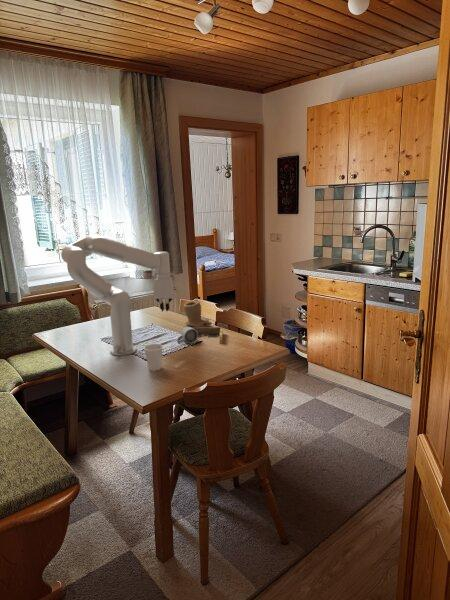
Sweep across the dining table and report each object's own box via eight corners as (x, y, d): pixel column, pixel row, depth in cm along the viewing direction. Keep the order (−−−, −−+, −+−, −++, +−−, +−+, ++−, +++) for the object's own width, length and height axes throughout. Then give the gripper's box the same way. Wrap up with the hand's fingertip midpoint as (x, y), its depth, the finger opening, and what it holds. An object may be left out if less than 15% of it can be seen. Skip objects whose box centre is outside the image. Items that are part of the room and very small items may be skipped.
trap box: (221, 343, 213) (221, 336, 212) (183, 344, 213) (183, 337, 212) (222, 334, 229) (222, 327, 228) (187, 334, 229) (186, 327, 228)
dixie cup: (167, 368, 183) (166, 346, 181) (151, 373, 178) (150, 351, 175) (157, 363, 189) (156, 342, 187) (141, 367, 184) (140, 346, 181)
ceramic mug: (193, 337, 224) (192, 324, 222) (198, 342, 216) (197, 328, 215) (174, 341, 220) (173, 327, 218) (179, 345, 212) (178, 331, 211)
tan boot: (180, 326, 246) (179, 301, 242) (195, 322, 254) (194, 298, 250) (197, 331, 235) (196, 305, 232) (212, 326, 243) (211, 301, 240)
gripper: (146, 277, 207) (148, 312, 211) (177, 276, 206) (179, 312, 211) (149, 275, 214) (151, 309, 218) (179, 274, 214) (180, 308, 218)
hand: (164, 310), depth 214 cm, fingers closed
